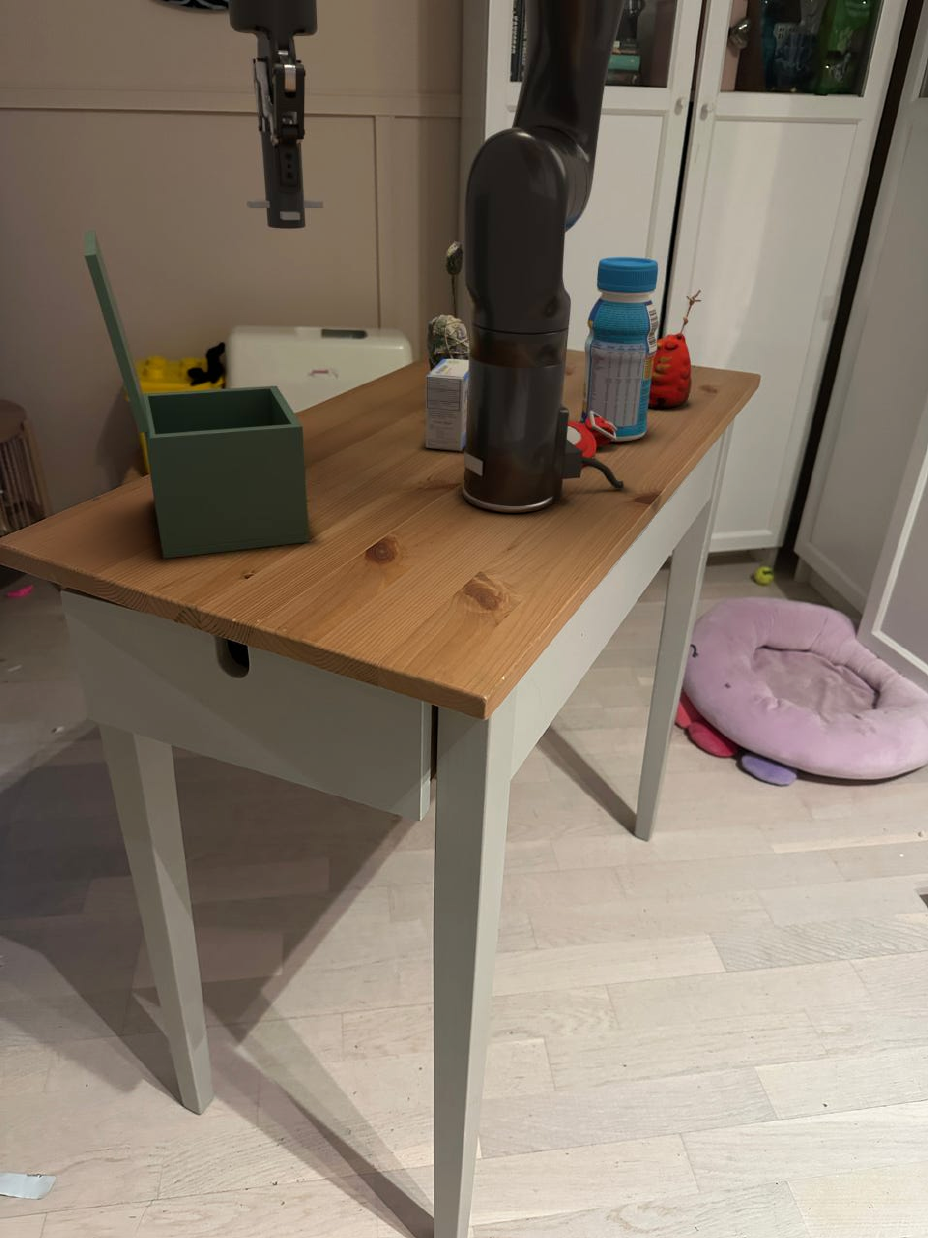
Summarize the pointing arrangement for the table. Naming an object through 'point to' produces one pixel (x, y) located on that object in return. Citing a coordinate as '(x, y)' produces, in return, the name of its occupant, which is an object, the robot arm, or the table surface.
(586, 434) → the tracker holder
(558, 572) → the table surface
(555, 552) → the table surface
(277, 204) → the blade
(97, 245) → the lid
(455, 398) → the medicine box
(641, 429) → the beverage bottle
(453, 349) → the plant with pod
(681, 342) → the red clay folk toy
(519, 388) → the robot arm
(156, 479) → the chest
